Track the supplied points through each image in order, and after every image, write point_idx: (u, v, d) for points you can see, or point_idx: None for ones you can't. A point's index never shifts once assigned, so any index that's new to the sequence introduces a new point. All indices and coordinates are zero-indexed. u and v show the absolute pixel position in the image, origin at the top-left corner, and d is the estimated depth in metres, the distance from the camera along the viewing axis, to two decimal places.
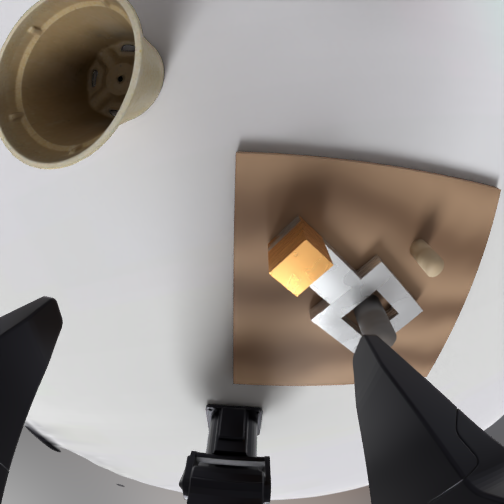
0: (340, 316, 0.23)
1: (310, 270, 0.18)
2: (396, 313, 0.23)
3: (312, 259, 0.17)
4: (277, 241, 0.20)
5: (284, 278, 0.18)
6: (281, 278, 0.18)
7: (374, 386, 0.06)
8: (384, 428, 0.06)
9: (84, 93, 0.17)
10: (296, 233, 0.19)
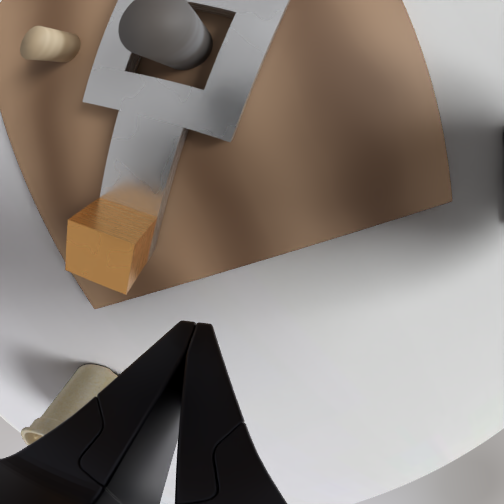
0: (200, 93, 0.11)
1: (90, 246, 0.11)
2: None
3: (78, 251, 0.11)
4: None
5: (119, 273, 0.11)
6: (122, 277, 0.11)
7: None
8: None
9: None
10: None
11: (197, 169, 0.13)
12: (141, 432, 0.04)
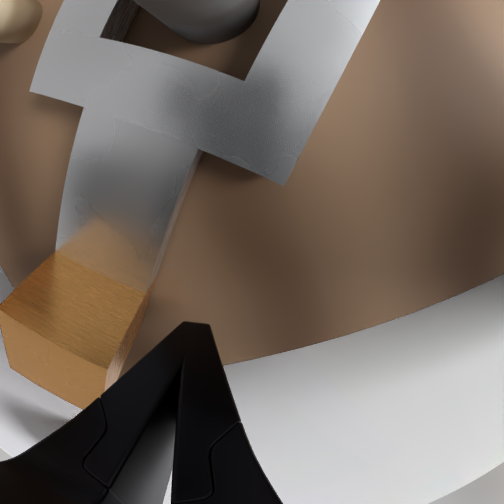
0: (236, 87, 0.06)
1: (37, 353, 0.05)
2: None
3: (21, 353, 0.05)
4: None
5: (88, 396, 0.06)
6: (92, 401, 0.06)
7: None
8: None
9: None
10: None
11: (230, 216, 0.08)
12: (145, 433, 0.04)
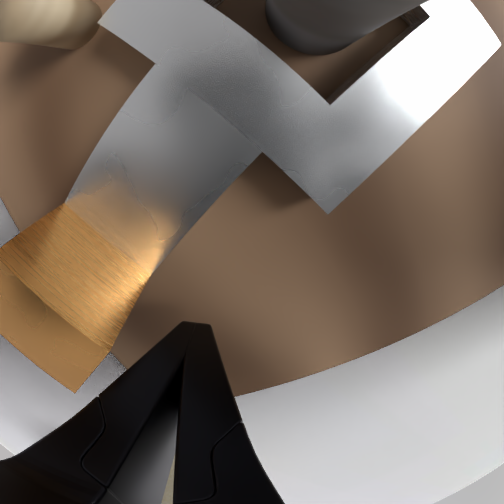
0: (320, 107, 0.06)
1: (26, 314, 0.05)
2: None
3: (5, 307, 0.05)
4: None
5: (70, 370, 0.05)
6: (73, 376, 0.05)
7: None
8: None
9: None
10: None
11: (346, 226, 0.08)
12: (143, 433, 0.04)
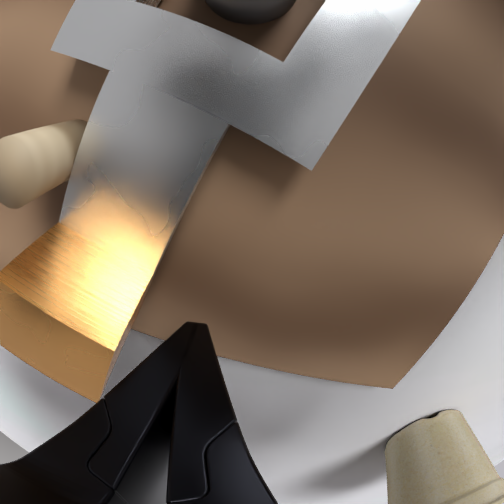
0: (274, 66, 0.05)
1: (34, 330, 0.05)
2: None
3: (15, 329, 0.05)
4: None
5: (87, 380, 0.06)
6: (91, 385, 0.06)
7: None
8: None
9: None
10: None
11: (425, 122, 0.07)
12: (149, 434, 0.04)
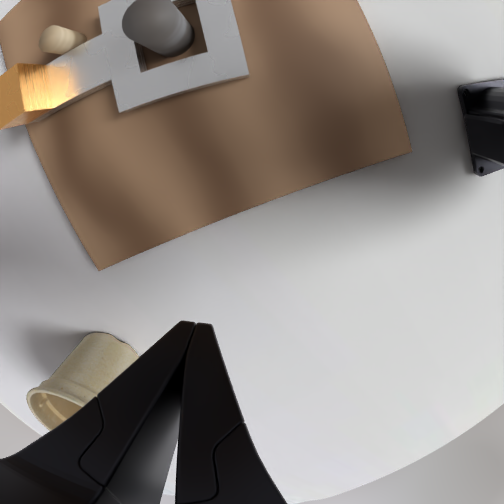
0: (137, 72, 0.13)
1: (10, 88, 0.10)
2: None
3: (4, 83, 0.10)
4: None
5: (6, 117, 0.11)
6: (5, 119, 0.11)
7: None
8: None
9: None
10: None
11: (186, 135, 0.16)
12: (141, 432, 0.04)
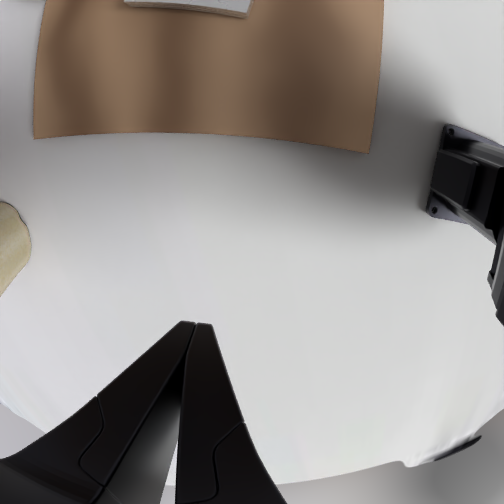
0: None
1: None
2: None
3: None
4: None
5: None
6: None
7: None
8: None
9: None
10: None
11: (166, 44, 0.14)
12: (141, 432, 0.04)
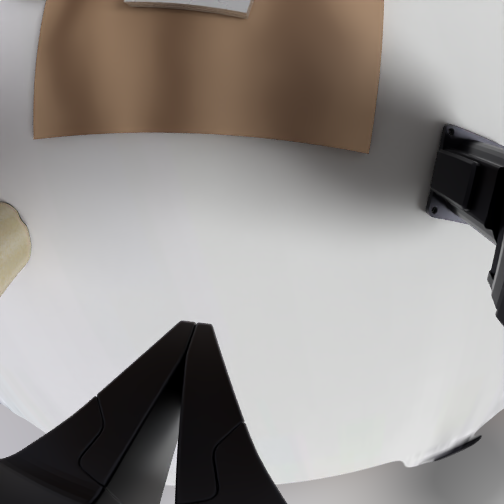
0: None
1: None
2: None
3: None
4: None
5: None
6: None
7: None
8: None
9: None
10: None
11: (166, 44, 0.14)
12: (141, 432, 0.04)
